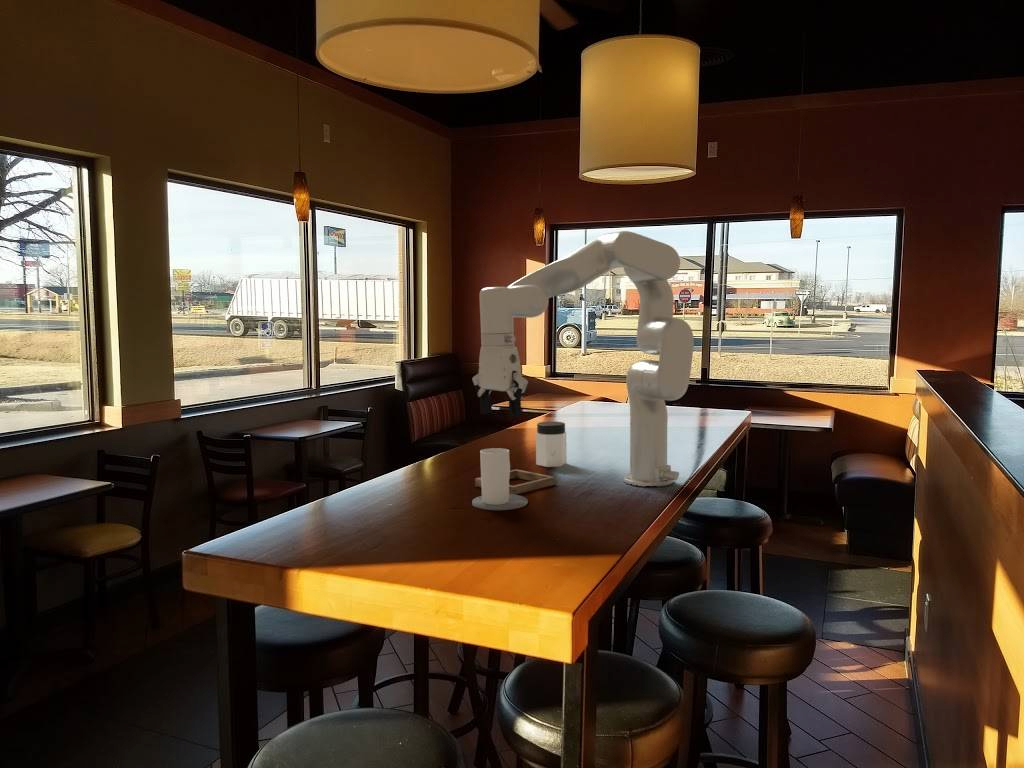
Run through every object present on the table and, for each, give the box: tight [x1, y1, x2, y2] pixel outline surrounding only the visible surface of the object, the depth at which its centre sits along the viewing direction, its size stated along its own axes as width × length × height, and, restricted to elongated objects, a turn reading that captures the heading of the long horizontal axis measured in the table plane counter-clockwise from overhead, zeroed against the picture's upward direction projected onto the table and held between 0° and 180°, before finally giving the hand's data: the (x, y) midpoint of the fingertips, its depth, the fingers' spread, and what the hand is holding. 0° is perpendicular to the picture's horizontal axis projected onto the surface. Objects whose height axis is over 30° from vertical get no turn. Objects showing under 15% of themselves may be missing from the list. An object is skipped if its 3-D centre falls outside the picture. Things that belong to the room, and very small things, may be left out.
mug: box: [479, 447, 511, 505], centre depth 179 cm, size 10×7×12 cm, turn 150°
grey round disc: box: [471, 494, 529, 511], centre depth 179 cm, size 13×13×1 cm
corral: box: [474, 468, 556, 495], centre depth 197 cm, size 14×15×2 cm
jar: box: [535, 420, 568, 468], centre depth 222 cm, size 9×8×12 cm
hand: (500, 414), depth 177 cm, fingers open, 9 cm apart
